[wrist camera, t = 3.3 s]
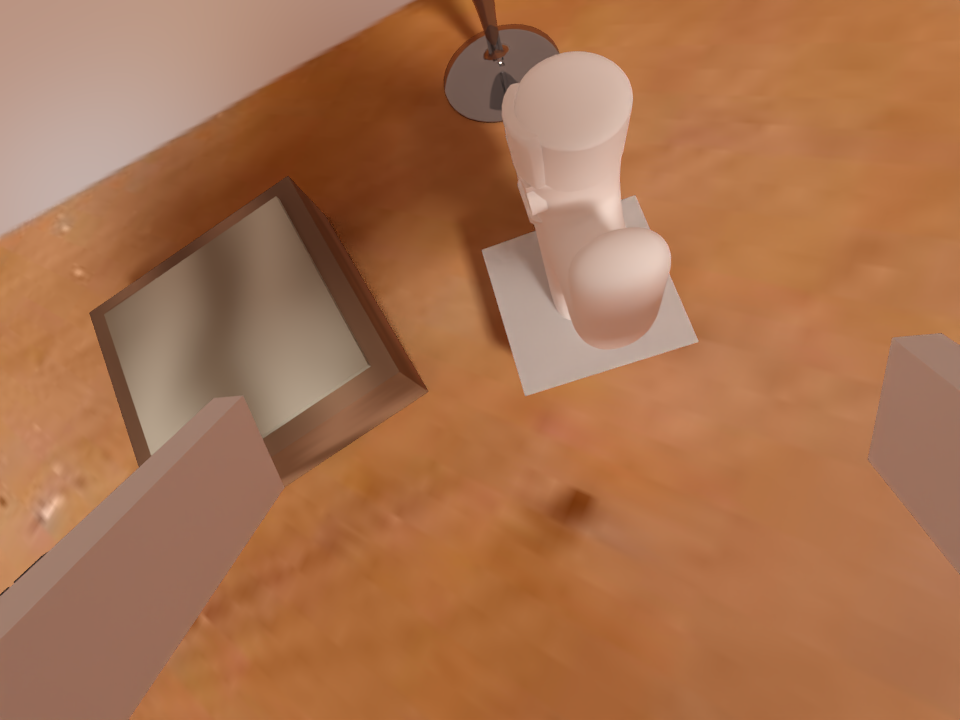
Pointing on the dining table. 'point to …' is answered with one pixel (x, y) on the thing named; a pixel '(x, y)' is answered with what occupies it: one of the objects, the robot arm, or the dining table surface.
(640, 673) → the dining table surface
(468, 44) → the wine glass
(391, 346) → the walnut pedestal
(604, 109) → the figurine
